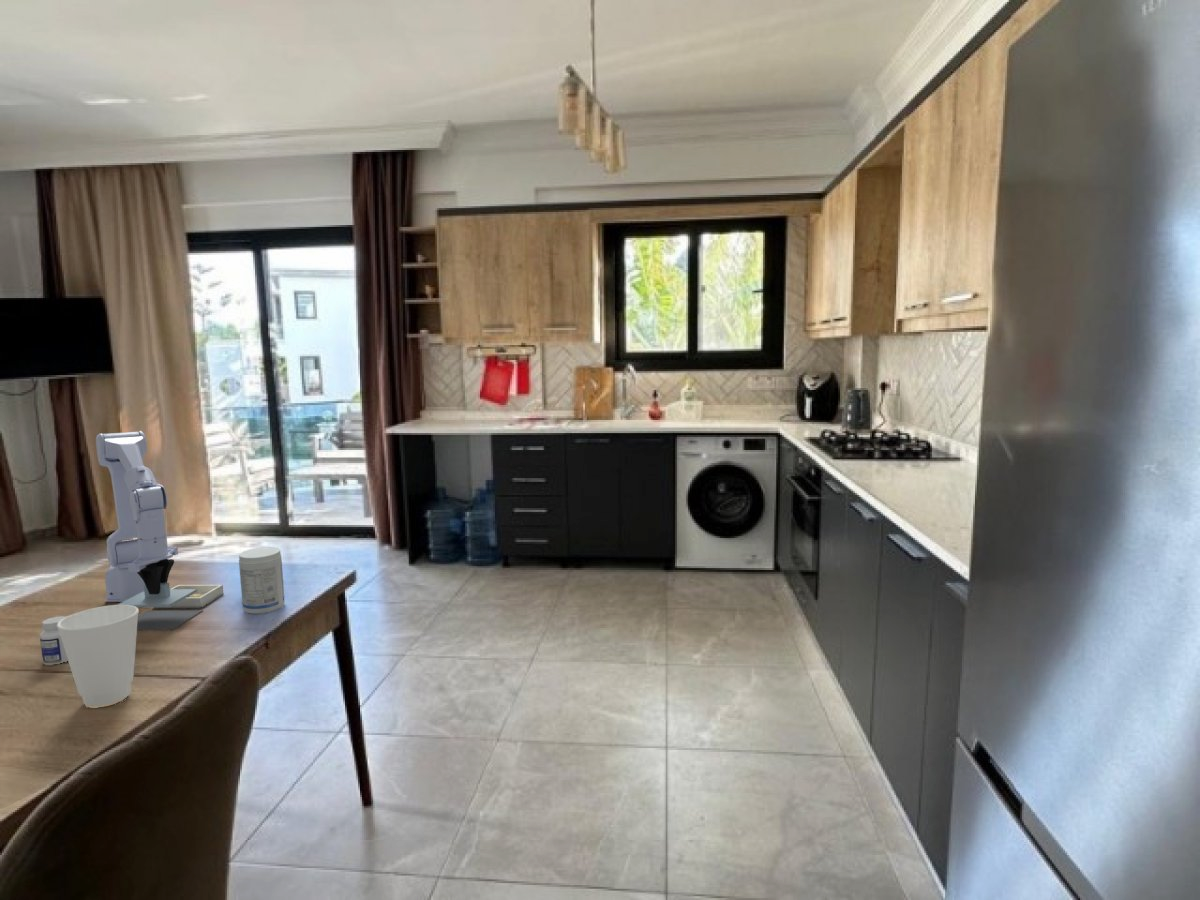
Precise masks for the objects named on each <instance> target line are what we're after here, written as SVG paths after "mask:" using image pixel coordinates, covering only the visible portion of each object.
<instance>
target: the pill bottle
mask: <svg viewBox="0 0 1200 900" xmlns="http://www.w3.org/2000/svg"><path fill="white" fill-rule="evenodd" d="M65 617H66V616H64V615H63V616H53V617H49V618H47V619H44V620H43V621H42V622H41V625H42V626H41V627H42V630H43V631H41V633H40V634H39V641H40V649H41V657H42V664H44V666H54V665H53V664H57V665H61V664H60V663H62V664H64V663H63V662H65V663H67V661H68V658H67V655H66V652H65V649H64V646H63V643H62V639H61V636H60V633H59V630H58V628H57V624H58V622H59V621H60V620H62V619H63V618H65Z"/></svg>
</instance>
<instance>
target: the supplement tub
mask: <svg viewBox="0 0 1200 900" xmlns="http://www.w3.org/2000/svg"><path fill="white" fill-rule="evenodd" d="M238 565H239V566H238V567H239V569H238V570H239V579H240V590H241V591H240V592H241V602H242V610H243V611H244V612H245V613H248V614H253V615H254V614H255V615H257V614H258V615H259V614H267V613H271V612H274V611H277V610H278V608H279V609H281V608H282V607H283V606H284V604H285V602H286V601H285V600H286V599H285V588H284V587H285V586H284V574H283V572H284V571H283V561H282V554H281V549H280V548H278V547H273V546H263V547H262V546H261V547H255V548H250V549H247V550H243V551H241V552H240V553H239V554H238ZM266 612H267V613H266Z"/></svg>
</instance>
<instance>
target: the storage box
mask: <svg viewBox="0 0 1200 900" xmlns="http://www.w3.org/2000/svg"><path fill="white" fill-rule="evenodd" d="M170 589H197V592H195V593H193V594H192V595H190V596H188V597H186V598H185V599H183V600H181V601H179V602H177V603H176V604H174V605H172V606H170V607H153V609H202V608H204V607H205V606H207V605H208V604H210V603H212V602H213V601H215V600H216V599H218V598H219V597H221V596H223V595H224V585H223V584H176V585H175V586H174V587H172V588H170ZM211 601H212V602H211ZM209 602H210V603H209ZM206 604H207V605H206ZM201 607H202V608H201Z"/></svg>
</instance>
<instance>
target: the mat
mask: <svg viewBox="0 0 1200 900" xmlns="http://www.w3.org/2000/svg"><path fill="white" fill-rule="evenodd" d="M200 612H201V613H203V612H204V610H203V609H201V610H200V609H193V610H192V609H178V610H177V609H171V610H170V609H168V610H167V609H165V610H164V609H162V610H161V609H160V610H159V609H158V610H155V609H154V610H153V609H149V610H146V611H145V612H143V613H140V614H138V620H137V631H174V630H175V629H177V628H179V627H180V626H182V625H184V624H185V623H187V622H188V621H190V620H191V619H193V618H194V616H195V617H196V616H198V615H199V614H201V613H200ZM197 614H198V615H197ZM178 626H179V627H178ZM173 629H174V630H173Z"/></svg>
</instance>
